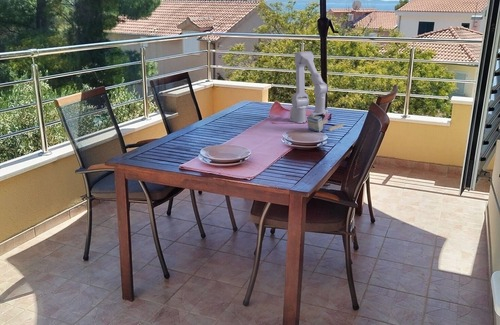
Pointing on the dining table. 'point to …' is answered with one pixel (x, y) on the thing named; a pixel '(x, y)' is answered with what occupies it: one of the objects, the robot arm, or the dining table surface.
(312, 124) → the medicine box
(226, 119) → the dining table surface
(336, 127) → the parallel bars
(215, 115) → the dining table surface
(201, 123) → the dining table surface
